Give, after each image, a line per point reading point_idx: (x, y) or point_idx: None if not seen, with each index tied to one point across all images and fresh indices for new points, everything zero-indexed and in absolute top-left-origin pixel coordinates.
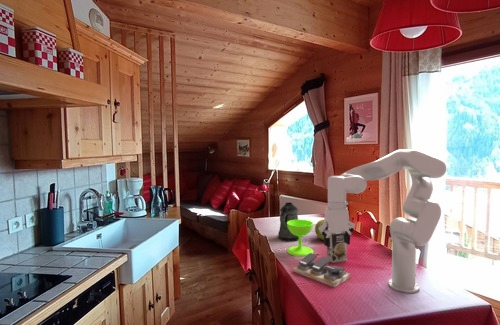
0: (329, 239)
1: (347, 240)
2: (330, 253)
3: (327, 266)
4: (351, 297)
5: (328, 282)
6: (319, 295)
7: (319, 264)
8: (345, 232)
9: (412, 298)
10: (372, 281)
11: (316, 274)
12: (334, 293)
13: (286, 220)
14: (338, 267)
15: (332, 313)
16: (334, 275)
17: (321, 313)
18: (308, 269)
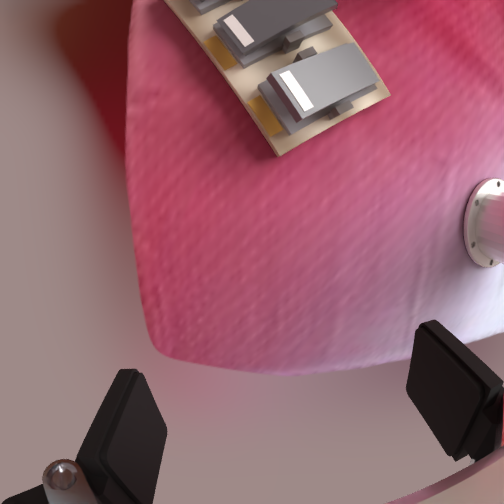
0: (144, 501)
1: (426, 405)
2: None
3: (284, 73)
4: (306, 250)
5: (262, 129)
6: (184, 209)
7: (264, 17)
8: (496, 421)
9: (465, 289)
10: (441, 157)
11: (231, 57)
12: (254, 206)
13: None
14: (352, 71)
15: (188, 330)
16: None
17: (153, 323)
18: (216, 7)
